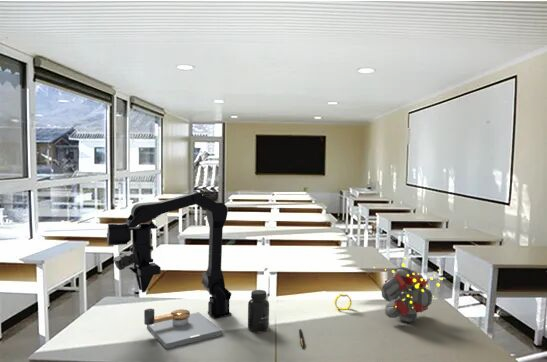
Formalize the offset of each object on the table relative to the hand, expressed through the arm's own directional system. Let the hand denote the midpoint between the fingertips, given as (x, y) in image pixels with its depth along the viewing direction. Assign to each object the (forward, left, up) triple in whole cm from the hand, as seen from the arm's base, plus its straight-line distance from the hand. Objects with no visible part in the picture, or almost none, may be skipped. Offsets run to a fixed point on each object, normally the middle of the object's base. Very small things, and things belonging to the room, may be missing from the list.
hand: (142, 291), depth 136 cm
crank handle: (-6, +7, -8) cm, 12 cm away
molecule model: (-76, +43, -12) cm, 88 cm away
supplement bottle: (-31, +21, -12) cm, 39 cm away
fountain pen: (-38, +35, -12) cm, 53 cm away
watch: (-66, +23, -12) cm, 71 cm away
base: (-10, +10, -12) cm, 19 cm away
